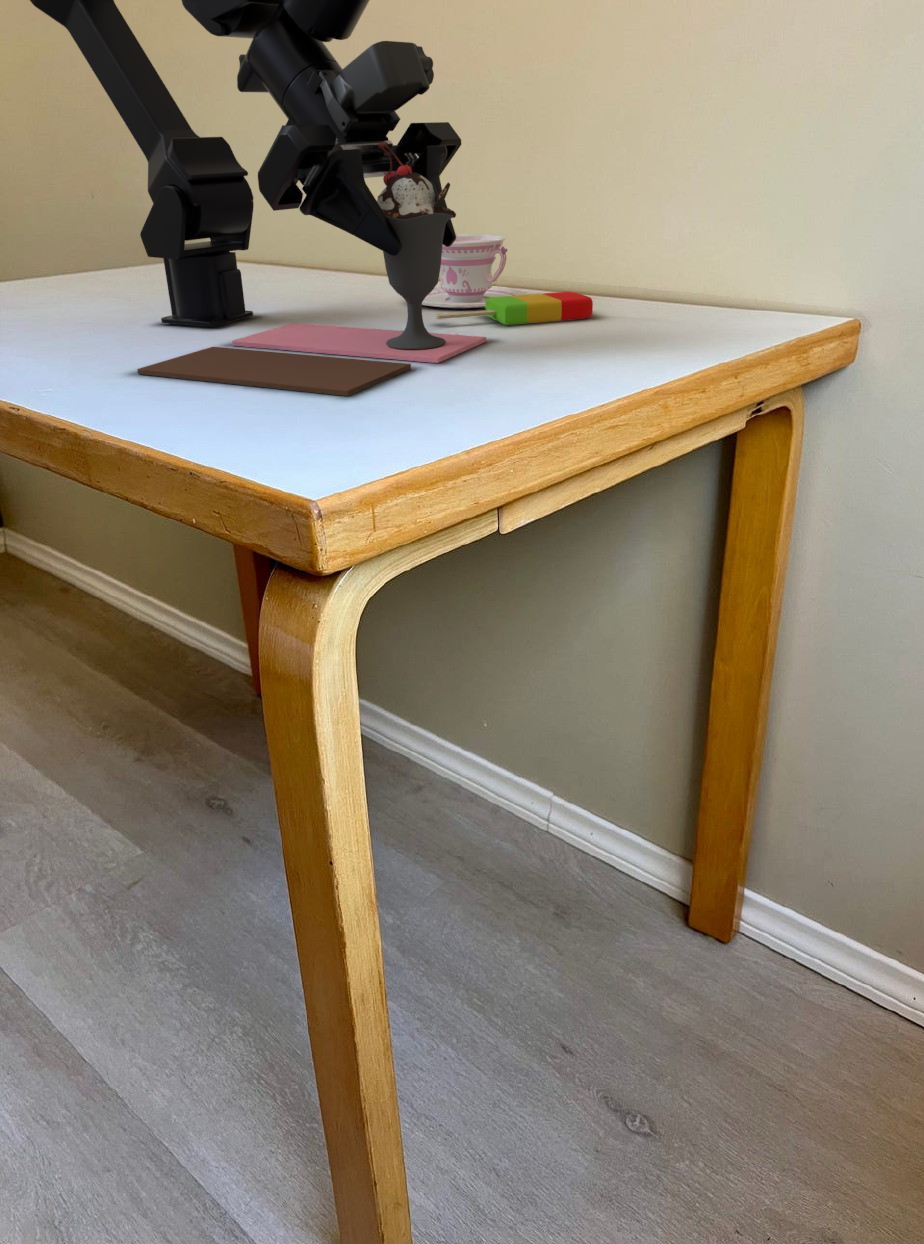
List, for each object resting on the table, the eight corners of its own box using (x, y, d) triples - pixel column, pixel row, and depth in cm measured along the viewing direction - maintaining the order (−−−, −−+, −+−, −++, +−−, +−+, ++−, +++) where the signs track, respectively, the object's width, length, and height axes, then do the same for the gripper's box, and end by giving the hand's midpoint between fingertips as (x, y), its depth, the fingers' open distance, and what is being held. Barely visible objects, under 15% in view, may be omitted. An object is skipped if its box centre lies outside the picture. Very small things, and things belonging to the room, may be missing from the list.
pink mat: (232, 345, 83) (231, 340, 83) (292, 327, 90) (292, 322, 90) (438, 363, 75) (437, 357, 75) (486, 341, 82) (486, 336, 82)
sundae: (359, 343, 81) (347, 142, 74) (425, 332, 84) (419, 139, 77) (404, 356, 76) (395, 143, 69) (471, 344, 79) (470, 140, 72)
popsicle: (597, 318, 91) (598, 297, 90) (445, 331, 87) (444, 310, 86) (572, 309, 96) (573, 290, 95) (427, 321, 91) (426, 301, 91)
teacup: (387, 304, 101) (384, 241, 98) (454, 289, 109) (453, 230, 107) (483, 314, 94) (483, 246, 92) (546, 296, 103) (547, 234, 100)
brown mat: (137, 374, 74) (136, 368, 74) (213, 351, 81) (212, 346, 81) (348, 396, 67) (347, 390, 66) (411, 368, 74) (411, 363, 73)
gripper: (266, -12, 64) (400, 173, 63) (440, 8, 77) (553, 162, 77) (205, 123, 72) (324, 290, 71) (372, 121, 85) (474, 261, 84)
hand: (425, 247), depth 76 cm, fingers closed on sundae, 6 cm apart
